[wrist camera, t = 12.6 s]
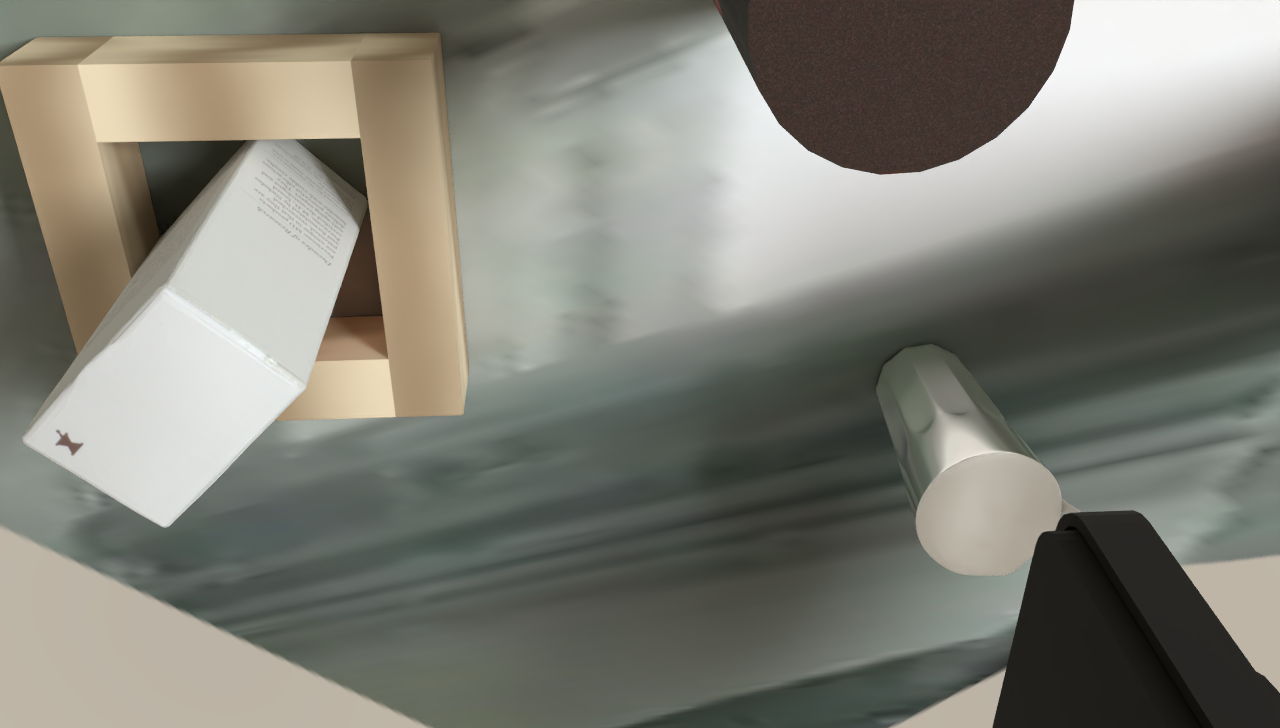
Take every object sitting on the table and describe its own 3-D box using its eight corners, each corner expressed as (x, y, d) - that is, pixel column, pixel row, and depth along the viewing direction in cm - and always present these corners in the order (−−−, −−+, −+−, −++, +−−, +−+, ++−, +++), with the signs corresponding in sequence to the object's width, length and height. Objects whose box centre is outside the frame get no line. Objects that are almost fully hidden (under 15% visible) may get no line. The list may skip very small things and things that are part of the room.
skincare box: (265, 315, 39) (162, 538, 29) (158, 236, 37) (8, 443, 27) (378, 198, 37) (310, 392, 27) (271, 109, 35) (155, 280, 25)
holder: (440, 32, 35) (431, 60, 32) (469, 369, 41) (462, 415, 38) (36, 37, 34) (-6, 65, 31) (127, 378, 40) (98, 426, 37)
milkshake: (1000, 417, 43) (1109, 597, 35) (861, 439, 43) (935, 623, 35) (1002, 314, 41) (1119, 479, 32) (855, 338, 41) (933, 508, 33)
